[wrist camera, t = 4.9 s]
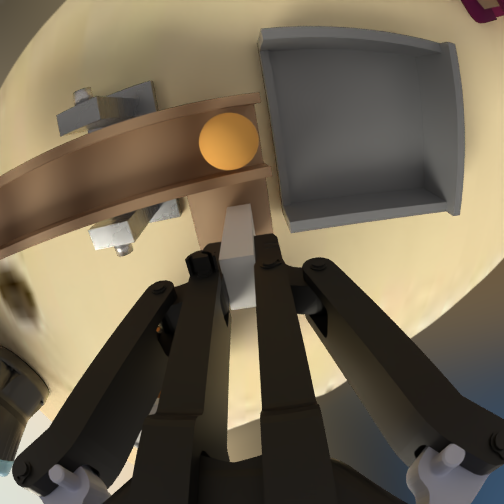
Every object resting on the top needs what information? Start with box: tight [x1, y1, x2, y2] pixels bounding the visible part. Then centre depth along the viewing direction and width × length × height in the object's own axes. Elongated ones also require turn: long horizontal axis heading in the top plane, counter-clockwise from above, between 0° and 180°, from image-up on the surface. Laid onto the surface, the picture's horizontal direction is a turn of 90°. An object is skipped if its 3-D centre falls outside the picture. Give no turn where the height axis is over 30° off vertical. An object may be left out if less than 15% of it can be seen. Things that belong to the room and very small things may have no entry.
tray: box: [257, 26, 465, 233], centre depth 17 cm, size 14×14×5 cm
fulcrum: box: [56, 81, 182, 257], centre depth 17 cm, size 6×11×7 cm, turn 9°
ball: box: [199, 113, 259, 170], centre depth 14 cm, size 3×3×3 cm
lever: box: [0, 92, 273, 260], centre depth 15 cm, size 24×11×3 cm, turn 98°
